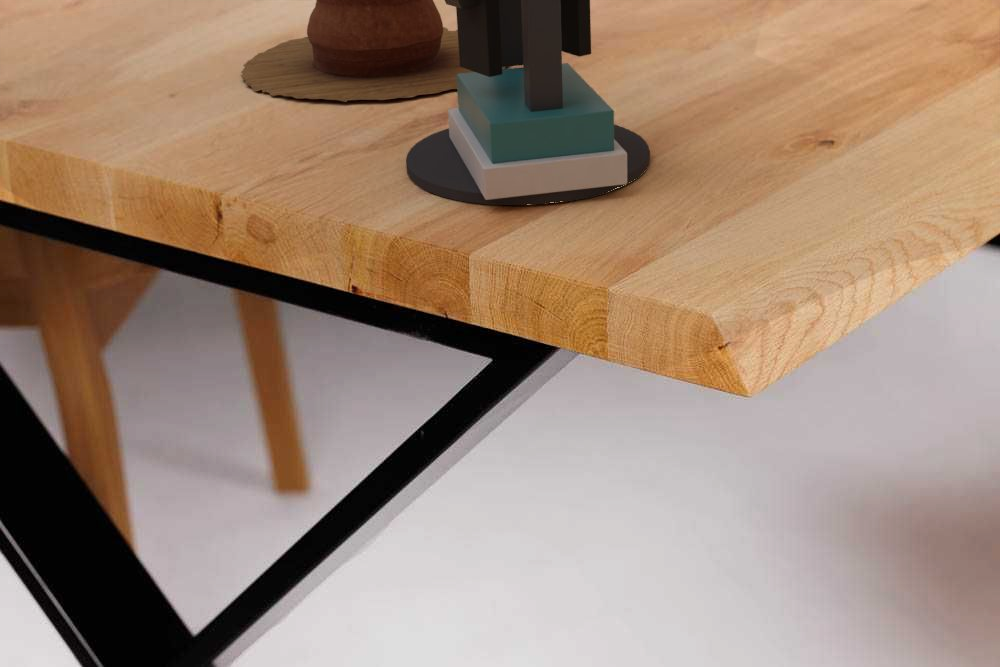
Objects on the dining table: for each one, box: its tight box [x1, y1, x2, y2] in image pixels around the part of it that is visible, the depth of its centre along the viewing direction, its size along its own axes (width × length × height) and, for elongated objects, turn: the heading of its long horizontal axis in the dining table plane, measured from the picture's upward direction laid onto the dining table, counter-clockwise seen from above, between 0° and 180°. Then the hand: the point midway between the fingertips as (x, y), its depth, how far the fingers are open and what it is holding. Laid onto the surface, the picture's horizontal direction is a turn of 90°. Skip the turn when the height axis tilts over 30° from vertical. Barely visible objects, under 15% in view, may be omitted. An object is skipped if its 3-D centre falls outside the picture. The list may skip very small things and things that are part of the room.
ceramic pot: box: [240, 0, 506, 103], centre depth 92 cm, size 18×18×7 cm
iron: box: [447, 0, 627, 200], centre depth 72 cm, size 13×7×12 cm, turn 12°
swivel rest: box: [405, 124, 651, 206], centre depth 75 cm, size 13×13×1 cm
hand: (526, 59), depth 72 cm, fingers closed on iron, 5 cm apart
